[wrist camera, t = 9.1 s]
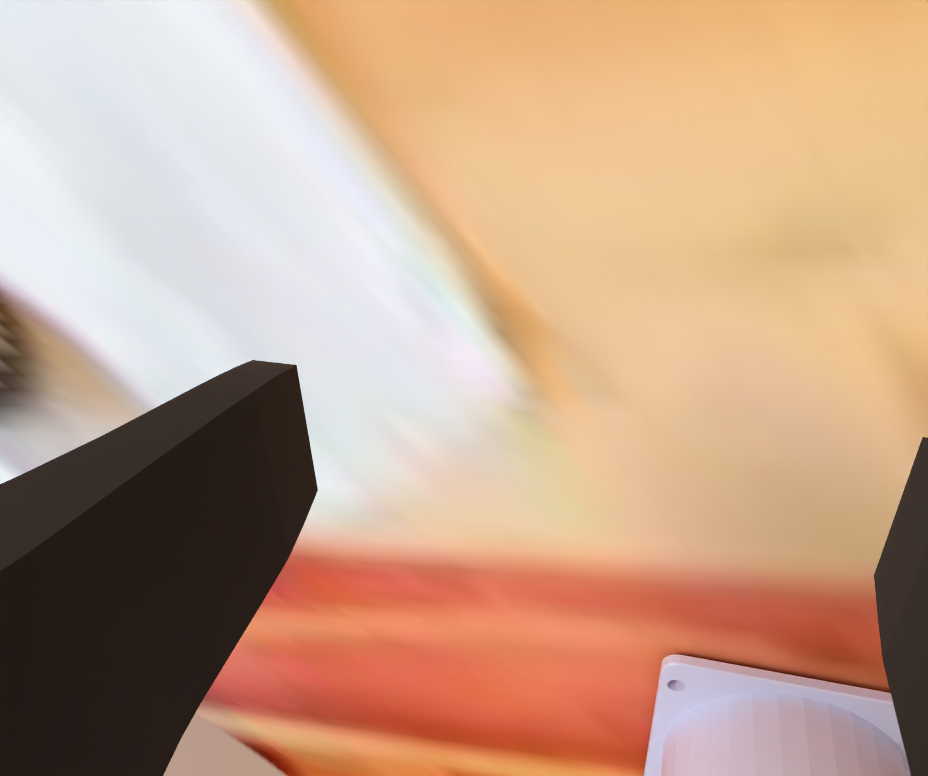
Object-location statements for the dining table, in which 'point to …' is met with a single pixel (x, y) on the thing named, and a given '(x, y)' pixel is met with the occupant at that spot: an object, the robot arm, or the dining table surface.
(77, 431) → the dining table surface
